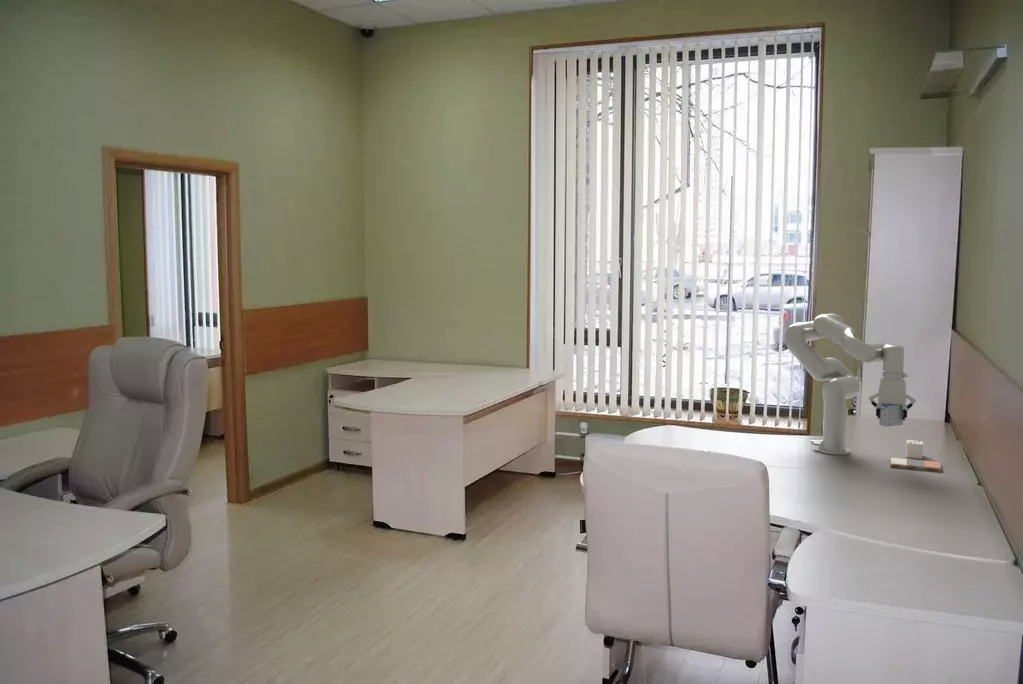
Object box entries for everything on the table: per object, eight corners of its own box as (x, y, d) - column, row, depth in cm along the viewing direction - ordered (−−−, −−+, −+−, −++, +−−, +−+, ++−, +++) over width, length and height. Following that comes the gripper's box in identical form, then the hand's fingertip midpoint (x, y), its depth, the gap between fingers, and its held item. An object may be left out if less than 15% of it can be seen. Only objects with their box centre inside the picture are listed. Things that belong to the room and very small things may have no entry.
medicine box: (894, 423, 347) (895, 402, 346) (903, 425, 343) (903, 403, 342) (878, 424, 344) (879, 403, 343) (887, 427, 340) (887, 405, 339)
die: (906, 457, 355) (907, 442, 355) (906, 453, 361) (906, 439, 360) (922, 458, 353) (923, 444, 352) (921, 455, 359) (922, 441, 358)
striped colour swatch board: (890, 467, 340) (890, 464, 339) (890, 460, 351) (890, 456, 350) (941, 472, 332) (941, 468, 332) (939, 464, 343) (939, 461, 343)
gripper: (916, 375, 341) (915, 418, 343) (869, 373, 348) (868, 415, 350) (917, 378, 334) (915, 422, 336) (868, 376, 341) (867, 419, 343)
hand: (891, 418), depth 343 cm, fingers closed on medicine box, 8 cm apart
